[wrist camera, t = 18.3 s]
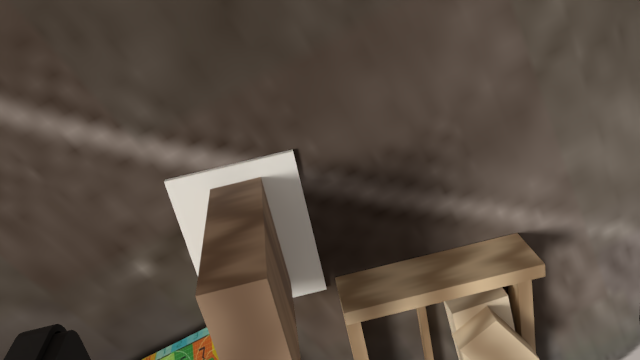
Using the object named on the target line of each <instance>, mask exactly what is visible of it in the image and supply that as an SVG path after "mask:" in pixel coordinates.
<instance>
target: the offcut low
mask: <svg viewBox="0 0 640 360" xmlns="http://www.w3.org/2000/svg"><path fill="white" fill-rule="evenodd" d="M444 304H445V308H446V312H447V316H448V320H449V323H450V327H451V331H452V334H453V333H454V332H455V331H457V330H458V329H459V328H460V327H462V326H463V325H464V324H465V323H466V322H468V321H469V320H470V319H471V318H473V317H474V316H475V315H476V314H477V313H479V312H480V311H481V310H482V309H484V308H485V307H486V306H488V307H489V308H490V309H491V310H492V311H493V312H494V313H496V314H497V315H498V316H499V317H500V318H501V319H502V320H503V321H504V322H506V323H507V324H508V325H509V326H510V327H511V328H512V329H513V330H514V331H515V328H514V323H513V318H512V313H511V308H510V303H509V298H508V295H507V293H506V292H505V291H504V289H503V288H502V287H501V288H497V289H493V290H489V291H484V292H480V293H476V294H472V295H468V296H464V297H460V298H456V299H452V300H448V301H444ZM453 339H454V338H453ZM454 343H455V346H456V350H457V354H458V358H459V360H470V359H469V358H468V357H467V356H466V355H464V354H463V353H462V352H461V351H460V350H459V348H458V346H457V344H456V342H455V340H454Z"/></svg>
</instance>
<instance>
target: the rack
mask: <svg viewBox="0 0 640 360" xmlns="http://www.w3.org/2000/svg"><path fill="white" fill-rule="evenodd" d="M541 277H545V264H544V262H543V261H542V260H541V259H540V258H539V257H538V256H537V255H536V253H535V252H534V251H533V250H532V249H531V248H530V247H529V246H528V245H527V243H526V242H525V241H524V240H523V239H522V238H521V237H520V236H519V234H518V233H515V234H511V235H507V236H503V237H499V238H495V239H491V240H486V241H482V242H478V243H474V244H470V245H466V246H462V247H458V248H454V249H450V250H445V251H441V252H437V253H433V254H429V255H425V256H421V257H417V258H413V259H409V260H404V261H400V262H396V263H392V264H388V265H384V266H380V267H376V268H372V269H368V270H364V271H359V272H355V273H351V274H347V275H343V276H339V277H335V281H336V285H337V289H338V293H339V298H340V302H341V306H342V310H343V315H344V319H345V323H346V327H347V332H348V336H349V340H350V345H351V349H352V353H353V357H354V360H369V358H368V354H367V349H366V345H365V340H364V336H363V331H362V326H361V322H363V321H367V320H371V319H375V318H379V317H383V316H387V315H391V314H395V313H399V312H403V311H407V310H411V309H415V308H416V309H417V315H418V321H419V327H420V333H421V339H422V345H423V351H424V357H425V360H434V358H433V352H432V345H431V339H430V333H429V326H428V320H427V313H426V307H425V306H428V305H432V304H436V303H440V302H444V301H448V300H452V299H456V298H460V297H464V296H468V295H472V294H476V293H480V292H484V291H489V290H493V289H497V288H501V287H505V286H508V296H509V303H510V308H511V313H512V318H513V323H514V328H515V332H517V333H518V334H519V335H520V336H521V337H522V338H523V339H524V340H525V341H527V342H528V343H529V344H530V346H531V347H532V349H533V350H534V352H535V353H536V347H535V329H534V312H533V294H532V280H533V279H537V278H541Z"/></svg>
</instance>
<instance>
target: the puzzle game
mask: <svg viewBox="0 0 640 360" xmlns="http://www.w3.org/2000/svg"><path fill="white" fill-rule="evenodd" d="M142 360H219V358H218V355H217V353H216V350H215V347H214V345H213V342H212V339H211V337H210V334H209V331H208V329H207V327H206V328H204V329H202V330H200V331H198V332H196V333H194V334H192V335H190V336H188V337H186V338H184V339H182V340H180V341H178V342H176V343H174V344H172V345H170V346H168V347H166V348H164V349H162V350H160V351H158V352H156V353H154V354H152V355H150V356H148V357H146V358H144V359H142Z"/></svg>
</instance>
